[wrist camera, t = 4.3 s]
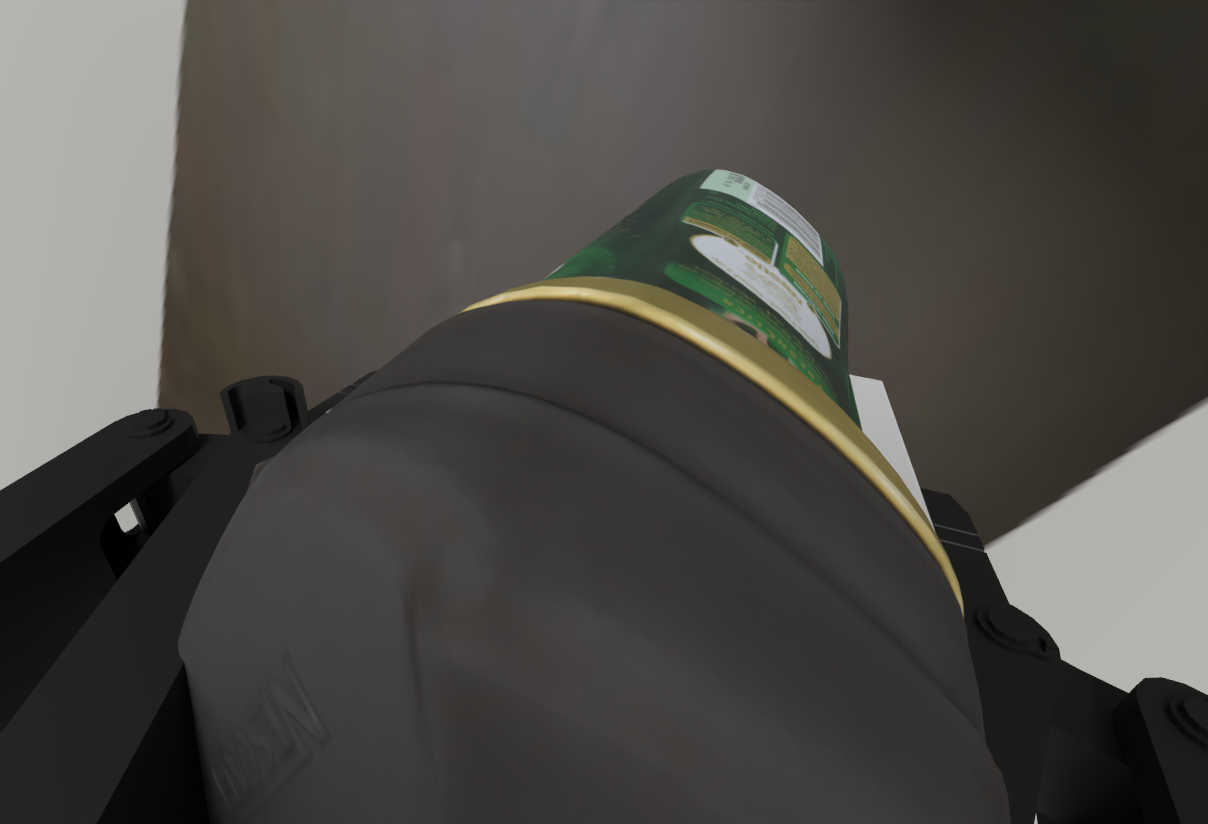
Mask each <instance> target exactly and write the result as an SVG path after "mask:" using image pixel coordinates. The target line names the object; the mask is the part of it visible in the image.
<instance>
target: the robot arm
mask: <svg viewBox="0 0 1208 824" xmlns="http://www.w3.org/2000/svg"><path fill="white" fill-rule="evenodd" d="M377 371H378V370H377ZM377 371H374V372H371V373H369V374H367V375H365V376H364V377H362V378H361V379H359V380H357V381H356V382H354V384H353V385H349V386H348V387H346V388H345V389H343V390H341V393H337V394H335V395H333V396H332V397H330V398H328V399H327V400H325V401H324V402H322V403H320V404H319V405H317V406H316V407H314V408H312V409H311V410H309V411H308V410H307V405H306V400H305V395H304V390H303V386H302V385H301V384H300V382H299V381H298V380H295V379H292V378H289V377H284V376H259V377H254V378H249V379H245V380H241V381H239V382H236V383H234V384H231V385H229V386H227V387H226V388H225V389H223V390H222V391H220V395H221V399H222V402H223V406H224V409H225V412H226V416H227V419H228V423H229V426H230V430H231V433H230V434H229V435H221V434H198V431H197V428H196V425H195V422H194V419H193V417H192V416H191V415H190V414H189V413H188V412H186V411H182V410H178V409H163V408H157V409H153V410H151V409H149V410H143V411H140V412H139V413H136V414H133V415H129V416H126V417H124V418H122V419H120V420H118V421H115V422H113V423H112V424H110V425H108V426H107V427H105V428H103V429H102V430H100V431H99V432H97V433H95V434H93V435H92V436H90V437H88V438H87V439H85V440H83V441H82V442H80V443H78V444H77V445H75V446H73V447H72V448H70V449H68V450H67V451H65V452H63V453H62V454H60V455H58V456H57V457H55V458H53V459H52V460H50V461H49V462H47V463H45V464H44V465H42V466H40V467H38V468H37V469H35V470H34V471H32V472H30V473H28V474H27V475H25V476H23V477H22V478H20V479H18V480H17V481H15V482H14V483H12V484H10V485H9V486H7V487H5V488H4V489H2V490H0V824H210V820H209V814H208V808H207V802H206V796H205V790H204V783H203V777H202V770H201V764H200V758H199V751H198V745H197V739H196V732H195V726H194V719H193V713H192V707H191V700H190V694H189V688H188V682H187V676H186V670H185V664H184V661H183V660H182V658H181V657H180V655H179V651H178V640H179V636H180V633H181V630H182V627H183V623H184V620H185V618H186V615H187V612H188V610H189V607H190V605H191V602H192V599H193V597H194V594H195V592H196V589H197V587H198V585H199V582H200V580H201V578H202V576H203V574H204V572H205V570H206V568H207V566H208V564H209V562H210V560H211V558H212V556H213V554H214V551H215V549H216V547H217V545H218V543H219V541H220V539H221V537H222V535H223V533H224V531H225V529H226V528H227V526H228V524H229V522H230V520H231V519H232V517H233V515H234V513H235V511H236V510H237V508H238V506H239V504H240V503H241V501H242V500H243V498H244V497H245V495H246V492H247V490H248V487H249V484H250V481H251V478H252V476H253V473H254V470H255V467H256V464H259V463H261V462H263V461H265V460H267V459H269V458H271V457H273V456H275V455H277V454H278V453H279V452H280V451H281V450H282V449H283V448H284V447H285V446H286V445H287V444H288V443H289V442H291V441H292V440H293V439H294V438H295V437H296V436H298V435H299V434H300V433H301V432H302V431H303V430H305V429H306V428H307V427H308V426H309V425H310V424H312V423H313V422H314V421H315V420H316V419H318V418H320V417H321V416H323V415H324V414H326V413H327V412H328V411H330V410H331V409H332V408H333V407H335V406H336V405H337V404H338V403H339V402H341V401H342V400H343V399H344V398H345V397H347V396H348V395H349V394H350V393H351V392H353V391H354V390H355V389H356V388H357V387H359V386H360V385H361V384H362V383H364V382H365V381H366V380H367V379H368V378H370V377H371V376H372V375H373V374H374V373H376V372H377ZM848 381H849V395H850V406H851V417H852V421H853V422H854V423H855V424H856V425H857V426H858V427H859V428H860V429H861V430H862V432H863V433H864V434H865V435H866V436H867V437H868V438H869V439H870V440H871V441H872V443H873V444H874V445H875V446H876V447H877V449H878V450H879V451H880V452H881V453H882V455H883V456H884V457H885V458H886V460H887V461H888V462H889V463H890V465H891V466H892V467H893V468H894V469H895V471H896V472H897V473H898V474H899V476H900V477H901V479H902V480H903V482H904V483H905V485H906V486H907V488H908V489H909V491H910V492H911V494H912V495H913V496H914V498H915V499H916V501H917V502H918V504H919V505H920V507H921V508H922V510H923V511H924V513H925V514H926V516H927V518H928V520H929V522H930V523H931V525H932V527H933V529H934V531H935V533H936V535H937V536H938V538H939V540H940V542H941V544H942V546H943V548H944V550H945V551H946V553H947V555H948V558H949V560H950V562H951V565H952V567H953V570H954V572H955V575H956V577H957V580H958V582H959V586H960V591H961V596H962V600H963V610H964V621H965V624H966V628H967V637H968V645H969V651H970V655H971V659H972V663H973V667H974V671H975V675H976V679H977V684H978V689H979V695H980V701H981V707H982V715H983V723H984V731H985V739H986V745H987V747H988V749H989V751H990V753H991V755H992V757H993V760H994V762H995V764H996V766H997V767H998V768H999V769H1000V771H1001V773H1002V776H1003V780H1004V783H1005V787H1006V790H1007V793H1008V802H1009V811H1010V820H1011V824H1034V821H1035V814H1037V822H1038V824H1208V695H1206V694H1204V693H1202V692H1200V691H1198V690H1196V689H1194V688H1192V687H1190V686H1188V685H1186V684H1183V683H1180V682H1176V681H1173V680H1169V679H1166V678H1162V677H1161V678H1145V679H1143V680H1142V681H1141V682H1140V683H1139V684H1138V685H1136V686H1135V688H1133V690H1132V691H1131V692H1130V693H1127V692H1125V691H1123V690H1121V689H1119V688H1117V687H1115V686H1112V685H1110V684H1108V683H1106V682H1104V681H1102V680H1100V679H1098V678H1096V677H1094V676H1092V675H1090V674H1088V673H1086V672H1084V671H1082V670H1079V669H1078V668H1076V667H1074V666H1072V665H1070V664H1069V663H1067V662H1065V661H1063V660H1061V657H1060V651H1059V648H1058V646H1057V645H1056V643H1055V642H1054V640H1053V639H1052V637H1051V636H1050V634H1049V633H1048V632H1047V631H1046V630H1045V629H1044V628H1043V627H1042V626H1041V625H1040V624H1038V623H1037V622H1036V621H1035V620H1034V619H1033V618H1032V617H1030V616H1029V615H1027V614H1025V613H1023V612H1022V611H1021V610H1019V609H1018V608H1016V607H1014V606H1013V605H1010V604H1009V602H1008V600H1007V598H1006V595H1005V593H1004V591H1003V589H1002V587H1001V585H1000V582H999V580H998V578H997V576H996V573H995V571H994V569H993V567H992V564H991V563H990V560H989V558H988V556H987V553H985V552H984V547H983V545H982V542H981V540H980V538H979V537H978V536H977V531H976V529H975V527H974V525H973V522H972V520H971V518H970V516H969V514H968V513H967V512H966V511H965V510H964V509H963V508H962V507H961V506H960V505H959V504H958V503H957V502H956V501H955V500H954V499H953V498H952V497H951V496H950V495H948V494H944V493H939V492H935V491H931V490H926V489H922V488H920V487H919V484H918V482H917V479H916V476H915V473H914V470H913V467H912V465H911V462H910V459H909V456H908V453H907V450H906V448H905V445H904V442H903V439H902V436H901V433H900V431H899V428H898V425H897V422H896V419H895V416H894V414H893V411H892V408H891V405H890V402H889V399H888V397H887V394H886V391H885V388H884V385H883V382H882V381H879V380H874V379H869V378H864V377H859V376H854V375H849V377H848ZM128 503H130V505H131V507H132V509H133V512H134V514H135V516H136V519H137V521H138V523H139V524H137V525H136V526H135V527H134V528H133V529H131V530H129V531H127V532H125V533H124V532H123V531H122V530H121V528H120V525H119V523H118V521H117V519H116V517H115V515H114V514H115V513H116V512H117V511H119V510H120V509H121V508H122V507H124V506H125V505H126V504H128Z"/></svg>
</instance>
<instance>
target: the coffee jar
mask: <svg viewBox="0 0 1208 824" xmlns="http://www.w3.org/2000/svg"><path fill="white" fill-rule="evenodd" d="M848 316H849V314H848V303H847V297H846V289H845V284H844V279H843V275H842V272H841V269H840V266H839V264H838V262H837V259H836V258H835V256H834V254H833V252H832V251H831V249H830V248H829V247H828V245H827V244H826V243H825V241H824V240H823V239H822V238H821V236H820V235H819V234H818V233H817V232H816V231H815V230H814V228H813V227H812V226H811V225H810V224H809V223H808V222H807V221H806V220H805V219H804V218H803V217H802V216H801V215H800V214H799V213H798V212H797V211H796V210H795V209H794V208H792V207H791V206H790V205H789V204H788V203H786V202H785V201H784V200H782V199H781V198H780V197H778V196H777V195H776V194H774V193H773V192H772V191H770V190H769V189H767V188H765V187H764V186H762V185H761V184H759V183H757V182H756V181H754V180H752V179H750V178H748V177H746V176H744V175H741V174H738V173H734V172H730V171H726V170H717V169H713V170H704V171H699V172H695V173H692V174H689V175H686V176H684V177H682V178H680V179H678V180H676V181H674V182H673V183H671V184H669V185H668V186H666V187H665V188H663V189H662V190H661V191H659V192H658V193H656V194H655V195H654V196H653V197H651V198H650V199H648V200H647V201H646V202H645V203H643V204H642V205H641V206H640V207H638V208H637V209H636V210H635V211H633V212H632V213H631V214H629V215H628V216H626V217H625V218H624V219H623V220H622V221H620V222H619V223H618V224H616V225H615V226H614V227H612V228H611V229H610V230H609V231H607V232H606V233H604V234H603V235H602V236H600V237H599V238H598V239H596V240H595V241H594V242H592V243H591V244H590V245H588V246H587V247H585V248H584V249H582V250H581V251H580V252H578V253H577V254H576V255H574V256H573V257H572V258H570V259H569V260H568V261H566V262H565V263H564V264H562V265H561V266H560V267H558V268H557V269H556V270H554V271H553V272H552V273H550V274H549V275H547V276H546V277H545V278H543V279H542V280H540V281H539V282H536V283H531V284H527V285H523V286H519V287H515V288H511V289H509V290H507V291H504V292H502V293H499V294H497V295H495V296H492V297H490V298H487V299H485V300H482V301H480V302H478V303H475V304H473V305H471V306H469V307H467V308H466V309H464V310H463V311H461V312H460V313H458V314H457V315H455V316H453V317H451V318H449V319H448V320H446V321H444V322H442V323H440V324H438V325H436V326H435V327H433V328H431V329H430V330H429V331H427V332H426V333H425V334H423V335H422V336H421V337H420V338H418V339H417V340H416V341H414V342H413V343H412V344H411V345H409V346H408V347H407V348H406V349H405V350H404V351H403V352H401V353H400V354H399V355H397V356H396V357H395V358H393V359H392V360H391V361H389V362H388V363H387V364H386V365H384V366H383V367H382V368H381V369H379V370H378V371H377V372H376V373H374V374H373V375H372V376H371V377H370V378H368V379H367V380H366V381H365V382H364V383H362V384H361V385H360V386H359V387H357V388H356V389H355V390H354V391H353V392H351V393H350V394H349V395H348V396H347V397H345V398H344V399H343V400H342V401H341V402H339V403H338V404H337V405H336V406H335V407H333V408H332V409H331V410H330V411H328V412H327V413H326V414H324V415H323V416H321V417H320V418H318V419H316V420H315V421H314V422H313V423H312V424H310V425H309V426H308V427H307V428H306V429H305V430H303V431H302V432H301V433H300V434H299V435H298V436H296V437H295V438H294V439H293V440H292V441H291V442H289V443H288V444H287V445H286V446H285V447H284V448H283V449H282V450H281V451H280V452H279V453H278V454H277V455H275V456H273V457H271V458H269V459H267V460H265V461H263V462H261V463H259V464H256V467H255V470H254V473H253V476H252V478H251V481H250V484H249V487H248V490H247V492H246V495H245V497H244V498H243V500H242V501H241V503H240V504H239V506H238V508H237V510H236V511H235V513H234V515H233V517H232V519H231V520H230V522H229V524H228V526H227V528H226V529H225V531H224V533H223V535H222V537H221V539H220V541H219V543H218V545H217V547H216V549H215V551H214V554H213V556H212V558H211V560H210V562H209V564H208V566H207V568H206V570H205V572H204V574H203V576H202V578H201V580H200V582H199V585H198V587H197V589H196V592H195V594H194V597H193V599H192V602H191V605H190V607H189V610H188V612H187V615H186V618H185V620H184V623H183V627H182V630H181V633H180V636H179V640H178V651H179V655H180V657H181V658H182V660H183V661H184V664H185V670H186V676H187V682H188V688H189V694H190V700H191V707H192V713H193V719H194V726H195V732H196V739H197V745H198V751H199V758H200V764H201V770H202V777H203V783H204V790H205V796H206V802H207V808H208V814H209V820H210V824H1011V820H1010V811H1009V802H1008V793H1007V790H1006V787H1005V783H1004V780H1003V776H1002V773H1001V771H1000V769H999V768H998V767H997V766H996V764H995V762H994V760H993V757H992V755H991V753H990V751H989V749H988V747H987V745H986V739H985V731H984V723H983V715H982V707H981V701H980V695H979V689H978V684H977V679H976V675H975V671H974V667H973V663H972V659H971V655H970V651H969V645H968V637H967V628H966V624H965V621H964V610H963V600H962V596H961V591H960V586H959V582H958V580H957V577H956V575H955V572H954V570H953V567H952V565H951V562H950V560H949V558H948V555H947V553H946V551H945V550H944V548H943V546H942V544H941V542H940V540H939V538H938V536H937V535H936V533H935V531H934V529H933V527H932V525H931V523H930V522H929V520H928V518H927V516H926V514H925V513H924V511H923V510H922V508H921V507H920V505H919V504H918V502H917V501H916V499H915V498H914V496H913V495H912V494H911V492H910V491H909V489H908V488H907V486H906V485H905V483H904V482H903V480H902V479H901V477H900V476H899V474H898V473H897V472H896V471H895V469H894V468H893V467H892V466H891V465H890V463H889V462H888V461H887V460H886V458H885V457H884V456H883V455H882V453H881V452H880V451H879V450H878V449H877V447H876V446H875V445H874V444H873V443H872V441H871V440H870V439H869V438H868V437H867V436H866V435H865V434H864V433H863V432H862V430H861V429H860V428H859V427H858V426H857V425H856V424H855V423H854V422H853V421H852V417H851V406H850V395H849V381H848Z"/></svg>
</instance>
